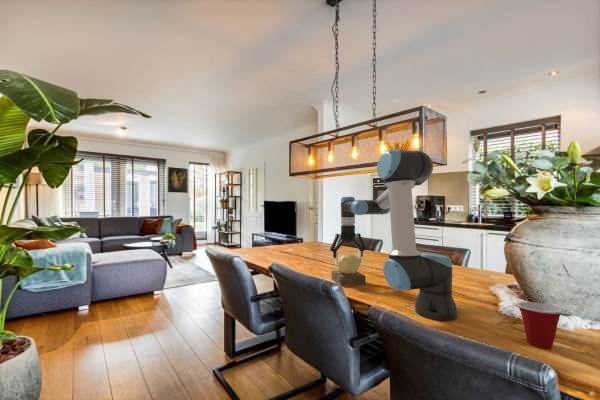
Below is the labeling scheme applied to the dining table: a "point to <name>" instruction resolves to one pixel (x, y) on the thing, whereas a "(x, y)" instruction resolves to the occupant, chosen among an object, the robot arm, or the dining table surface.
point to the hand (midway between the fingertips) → (348, 263)
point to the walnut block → (348, 278)
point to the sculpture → (348, 264)
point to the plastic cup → (540, 323)
